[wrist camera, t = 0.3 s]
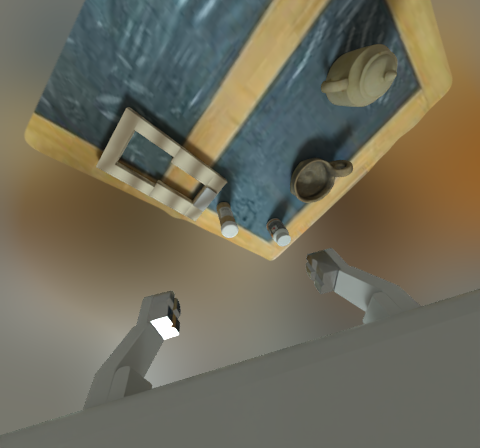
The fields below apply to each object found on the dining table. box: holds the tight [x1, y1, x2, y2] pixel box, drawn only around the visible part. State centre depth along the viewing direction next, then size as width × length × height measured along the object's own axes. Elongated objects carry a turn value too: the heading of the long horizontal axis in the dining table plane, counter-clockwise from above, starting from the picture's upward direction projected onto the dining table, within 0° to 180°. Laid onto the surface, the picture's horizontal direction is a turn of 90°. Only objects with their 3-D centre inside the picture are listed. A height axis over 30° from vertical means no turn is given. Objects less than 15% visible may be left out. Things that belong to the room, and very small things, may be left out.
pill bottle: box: [267, 218, 291, 246], centre depth 66 cm, size 6×6×10 cm
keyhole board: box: [96, 107, 227, 221], centre depth 51 cm, size 28×16×3 cm, turn 49°
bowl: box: [290, 158, 353, 203], centre depth 58 cm, size 14×18×10 cm
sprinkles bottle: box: [217, 202, 238, 238], centre depth 56 cm, size 5×5×13 cm
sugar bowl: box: [321, 44, 397, 107], centre depth 43 cm, size 15×11×15 cm
